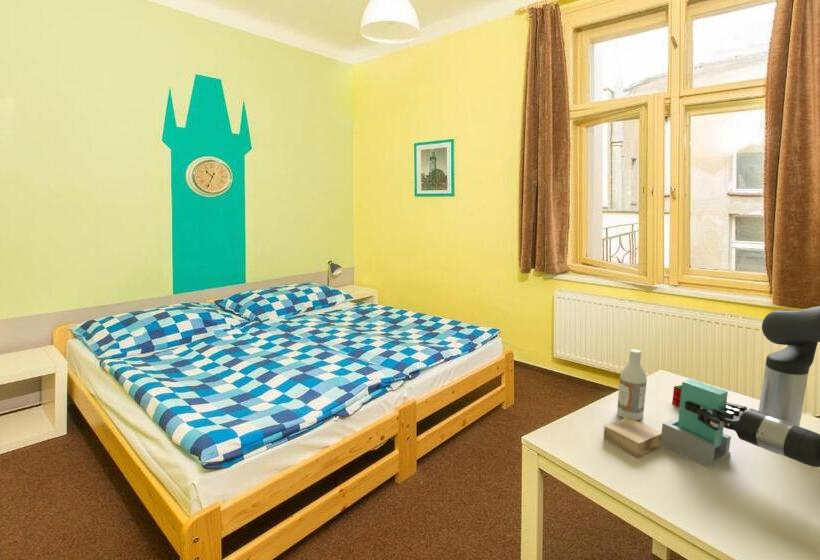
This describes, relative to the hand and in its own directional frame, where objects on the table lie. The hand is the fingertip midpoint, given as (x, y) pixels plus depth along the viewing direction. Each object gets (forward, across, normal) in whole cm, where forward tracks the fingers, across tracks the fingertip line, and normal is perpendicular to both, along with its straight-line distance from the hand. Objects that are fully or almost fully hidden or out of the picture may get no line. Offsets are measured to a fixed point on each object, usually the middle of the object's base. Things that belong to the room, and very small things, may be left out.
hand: (690, 402), depth 121 cm
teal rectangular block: (-3, 0, +8) cm, 9 cm away
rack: (-2, 0, +12) cm, 12 cm away
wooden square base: (+8, +11, +12) cm, 18 cm away
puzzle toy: (+13, -22, +12) cm, 28 cm away
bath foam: (+18, -2, +12) cm, 22 cm away
